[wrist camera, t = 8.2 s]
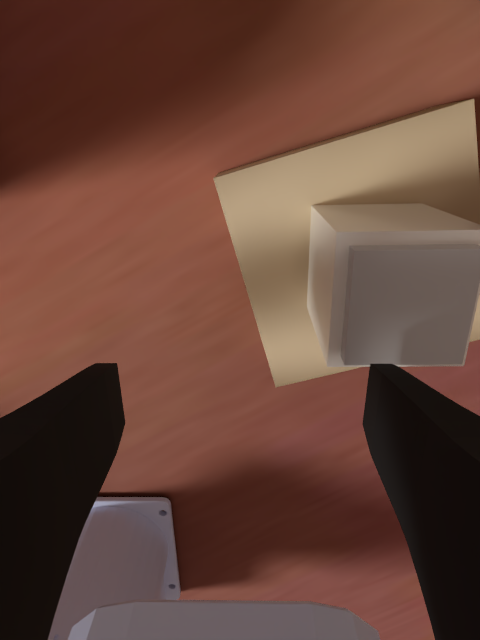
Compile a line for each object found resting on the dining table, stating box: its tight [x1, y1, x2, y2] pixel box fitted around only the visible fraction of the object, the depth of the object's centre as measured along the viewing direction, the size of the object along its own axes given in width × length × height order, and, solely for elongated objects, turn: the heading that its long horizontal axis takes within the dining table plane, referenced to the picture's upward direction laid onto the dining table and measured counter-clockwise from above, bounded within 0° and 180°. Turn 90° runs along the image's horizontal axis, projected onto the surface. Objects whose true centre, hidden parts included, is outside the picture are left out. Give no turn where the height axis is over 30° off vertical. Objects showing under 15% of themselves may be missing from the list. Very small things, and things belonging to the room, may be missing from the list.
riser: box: [214, 99, 480, 387], centre depth 19 cm, size 10×10×3 cm
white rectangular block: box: [307, 203, 480, 367], centre depth 15 cm, size 4×4×6 cm
